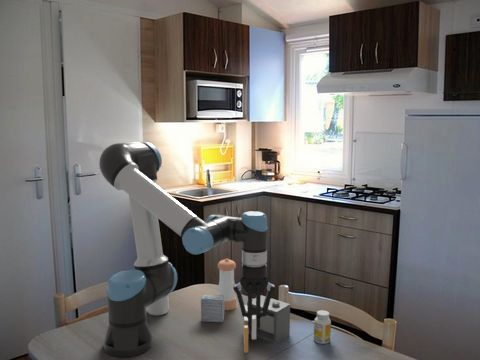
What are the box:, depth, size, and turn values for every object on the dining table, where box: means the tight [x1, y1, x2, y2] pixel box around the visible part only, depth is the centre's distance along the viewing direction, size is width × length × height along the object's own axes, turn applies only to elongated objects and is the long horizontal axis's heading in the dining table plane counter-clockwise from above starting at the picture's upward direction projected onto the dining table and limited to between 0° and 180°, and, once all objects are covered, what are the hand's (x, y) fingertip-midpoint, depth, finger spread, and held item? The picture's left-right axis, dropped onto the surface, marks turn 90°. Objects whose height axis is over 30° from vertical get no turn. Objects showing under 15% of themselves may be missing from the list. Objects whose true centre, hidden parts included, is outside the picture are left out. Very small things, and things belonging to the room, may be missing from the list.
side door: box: [243, 304, 249, 353], centre depth 151 cm, size 15×1×10 cm, turn 1°
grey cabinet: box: [246, 294, 291, 345], centre depth 160 cm, size 14×8×12 cm, turn 52°
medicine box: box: [200, 294, 225, 323], centre depth 170 cm, size 8×4×9 cm, turn 84°
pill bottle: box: [146, 293, 170, 316], centre depth 176 cm, size 8×8×15 cm
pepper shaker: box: [217, 257, 237, 311], centre depth 181 cm, size 7×7×19 cm
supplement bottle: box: [313, 309, 332, 345], centre depth 155 cm, size 5×5×10 cm
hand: (253, 337), depth 145 cm, fingers closed
